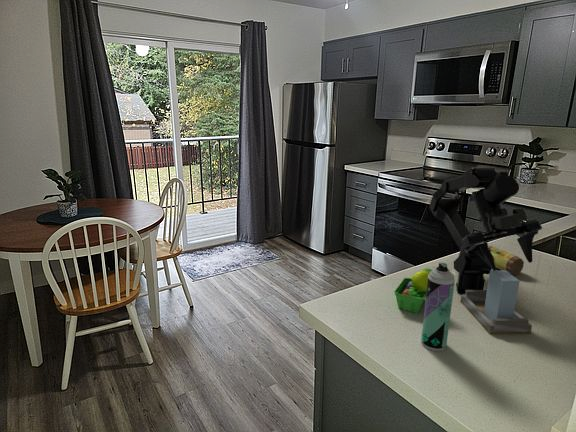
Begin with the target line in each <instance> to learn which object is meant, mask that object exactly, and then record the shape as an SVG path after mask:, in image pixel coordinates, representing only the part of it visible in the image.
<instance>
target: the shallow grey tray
mask: <svg viewBox="0 0 576 432" xmlns="http://www.w3.org/2000/svg"><path fill="white" fill-rule="evenodd" d="M486 294H487V289H484V290H465V294H461V295H460V303H461V305H463V307H465V309H466V310H467V311H468V312H469V313H470V314H471V315H472V317H473V318H474V319H475V320H476V321H477V322H478V323H479V324H480V325H481V327H483V329H484V330H485V331H486V332H487V333H488V334H489V335H501V334H502V335H518V334H519V335H525V334H527V335H529V334H530V335H531V332H532V329H533V325H532V324H531V323H530V320H529V319H528V318H527V317H526V318H525V317H523V316H522V315H521V314H520V313H518V312H517V310H516V309H514V314H513V318H496V319H493V322H492V321H491V320H490V319H489V318H488V317H487V315H486V314H485V313H484V307H485V300H486Z"/></svg>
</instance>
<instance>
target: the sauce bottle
mask: <svg viewBox="0 0 576 432" xmlns="http://www.w3.org/2000/svg"><path fill="white" fill-rule="evenodd" d="M488 248H489V249H490V250H491V254H492V255H493V257H494V263H495V266H496V269H499V270H506V271H507V272H509V273H510V274H511V275H513V276H516V275H519V274H520V273H521V271H523V268H524V264H525V262H524V260H523V258H521V257H519V256H517V255H515V254H513V253H511V252H508V251H505V250H503V249H500V248H498V247H495V246H493V245H488Z"/></svg>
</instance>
